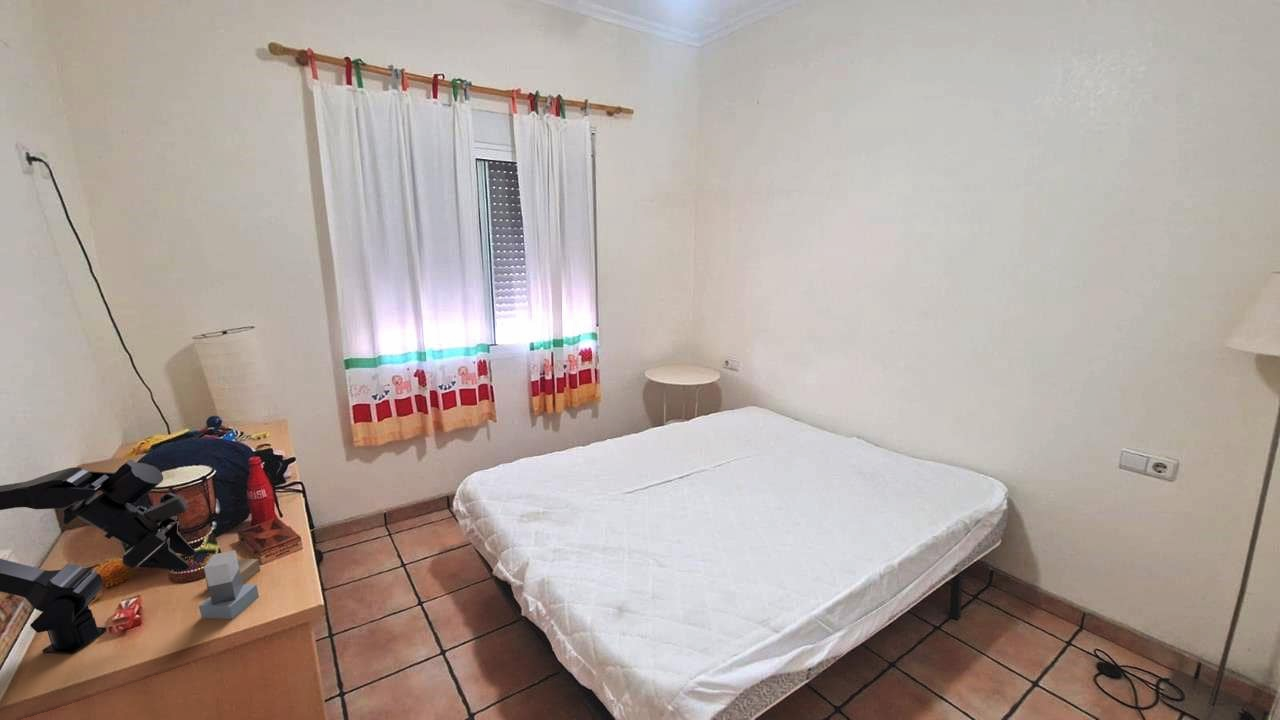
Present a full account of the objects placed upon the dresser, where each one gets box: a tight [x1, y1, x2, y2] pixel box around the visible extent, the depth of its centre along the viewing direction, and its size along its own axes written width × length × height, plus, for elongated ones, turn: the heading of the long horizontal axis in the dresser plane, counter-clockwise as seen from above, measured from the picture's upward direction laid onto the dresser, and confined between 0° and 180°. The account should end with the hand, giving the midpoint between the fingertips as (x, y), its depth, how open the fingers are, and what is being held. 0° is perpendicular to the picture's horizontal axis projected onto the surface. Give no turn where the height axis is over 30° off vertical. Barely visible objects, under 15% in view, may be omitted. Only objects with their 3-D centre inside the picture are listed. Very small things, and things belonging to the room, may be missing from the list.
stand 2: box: [198, 583, 260, 620], centre depth 110 cm, size 7×7×3 cm
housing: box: [203, 549, 243, 605], centre depth 109 cm, size 4×5×9 cm
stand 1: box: [204, 558, 261, 589], centre depth 119 cm, size 7×7×3 cm
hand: (190, 560), depth 106 cm, fingers open, 9 cm apart
